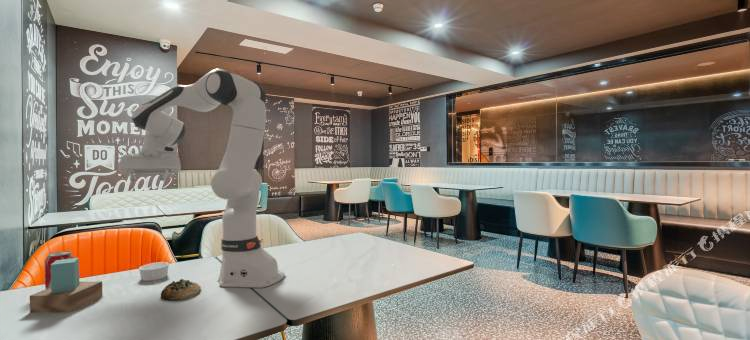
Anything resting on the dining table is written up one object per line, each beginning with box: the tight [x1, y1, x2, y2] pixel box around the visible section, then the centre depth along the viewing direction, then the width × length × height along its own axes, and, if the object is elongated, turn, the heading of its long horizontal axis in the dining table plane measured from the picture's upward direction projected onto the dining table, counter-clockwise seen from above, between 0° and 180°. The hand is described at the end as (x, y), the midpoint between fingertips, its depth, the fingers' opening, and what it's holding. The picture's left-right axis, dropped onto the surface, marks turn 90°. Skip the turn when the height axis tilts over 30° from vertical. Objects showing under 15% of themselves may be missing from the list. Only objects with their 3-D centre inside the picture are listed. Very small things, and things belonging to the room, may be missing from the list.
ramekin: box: [139, 261, 170, 282], centre depth 122 cm, size 9×9×4 cm
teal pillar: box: [51, 257, 80, 293], centre depth 98 cm, size 5×5×8 cm
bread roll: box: [160, 278, 202, 301], centre depth 106 cm, size 11×11×5 cm
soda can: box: [43, 250, 75, 290], centre depth 110 cm, size 7×7×12 cm
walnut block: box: [29, 280, 104, 314], centre depth 99 cm, size 11×11×5 cm
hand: (147, 179), depth 128 cm, fingers open, 8 cm apart
